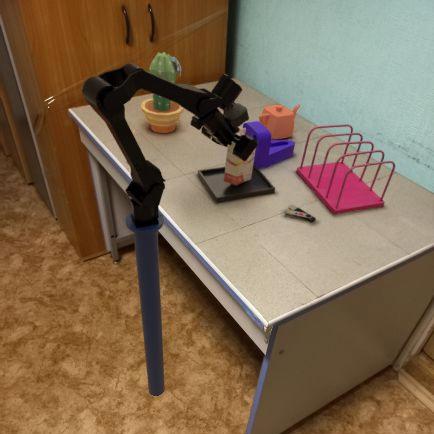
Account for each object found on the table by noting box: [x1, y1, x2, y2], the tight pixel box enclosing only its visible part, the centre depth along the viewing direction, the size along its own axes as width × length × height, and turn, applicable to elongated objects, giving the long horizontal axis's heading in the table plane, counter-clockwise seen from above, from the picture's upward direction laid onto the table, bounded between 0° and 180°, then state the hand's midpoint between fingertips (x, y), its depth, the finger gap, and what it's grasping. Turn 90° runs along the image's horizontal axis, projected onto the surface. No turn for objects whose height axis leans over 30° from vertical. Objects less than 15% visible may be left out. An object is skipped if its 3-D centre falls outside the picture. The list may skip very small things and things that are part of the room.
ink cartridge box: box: [224, 127, 256, 185], centre depth 126 cm, size 9×5×15 cm, turn 142°
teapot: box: [258, 104, 302, 140], centre depth 155 cm, size 12×18×10 cm, turn 118°
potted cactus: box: [140, 51, 184, 134], centre depth 147 cm, size 15×15×25 cm
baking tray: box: [197, 163, 276, 204], centre depth 131 cm, size 19×16×2 cm
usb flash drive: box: [284, 204, 317, 224], centre depth 121 cm, size 9×5×1 cm, turn 43°
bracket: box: [241, 120, 296, 170], centre depth 141 cm, size 18×11×12 cm, turn 115°
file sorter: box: [295, 123, 396, 215], centre depth 128 cm, size 17×25×16 cm
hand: (241, 151), depth 125 cm, fingers closed on ink cartridge box, 5 cm apart
